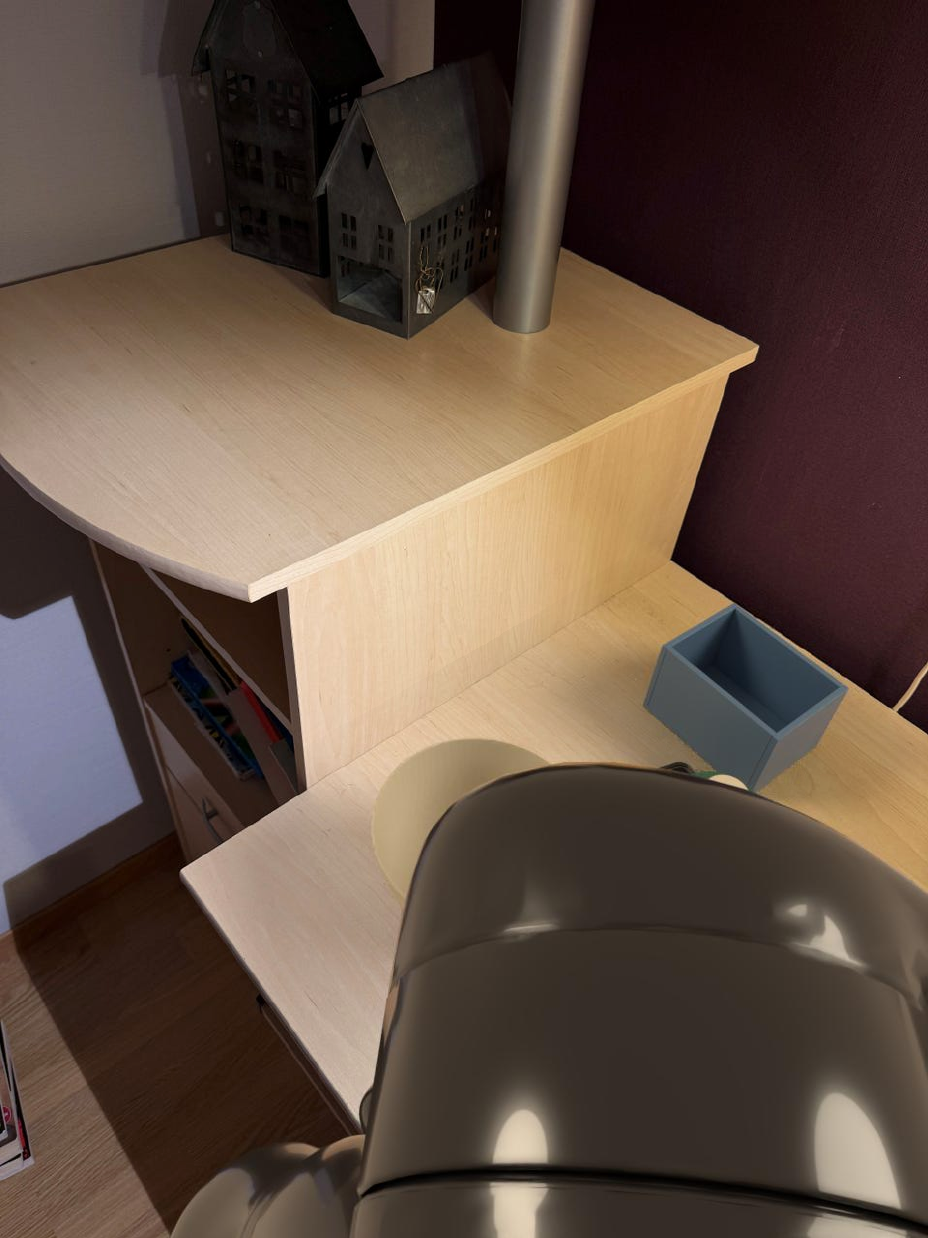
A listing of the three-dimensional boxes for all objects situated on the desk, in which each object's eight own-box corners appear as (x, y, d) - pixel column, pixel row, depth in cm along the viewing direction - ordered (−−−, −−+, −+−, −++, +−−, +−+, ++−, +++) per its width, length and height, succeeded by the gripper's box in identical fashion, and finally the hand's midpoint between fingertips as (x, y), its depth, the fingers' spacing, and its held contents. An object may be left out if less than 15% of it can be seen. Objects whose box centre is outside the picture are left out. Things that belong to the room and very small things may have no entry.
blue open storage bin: (816, 747, 86) (849, 688, 80) (748, 799, 81) (778, 740, 75) (710, 662, 93) (734, 602, 87) (642, 705, 88) (662, 645, 82)
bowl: (435, 1033, 65) (444, 972, 58) (336, 859, 74) (332, 788, 67) (610, 928, 71) (637, 862, 64) (499, 780, 81) (511, 708, 74)
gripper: (678, 1095, 41) (854, 864, 50) (452, 882, 47) (645, 713, 57) (642, 1147, 46) (808, 929, 55) (443, 948, 52) (621, 784, 62)
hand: (724, 821), depth 56 cm, fingers closed on bottle, 5 cm apart
